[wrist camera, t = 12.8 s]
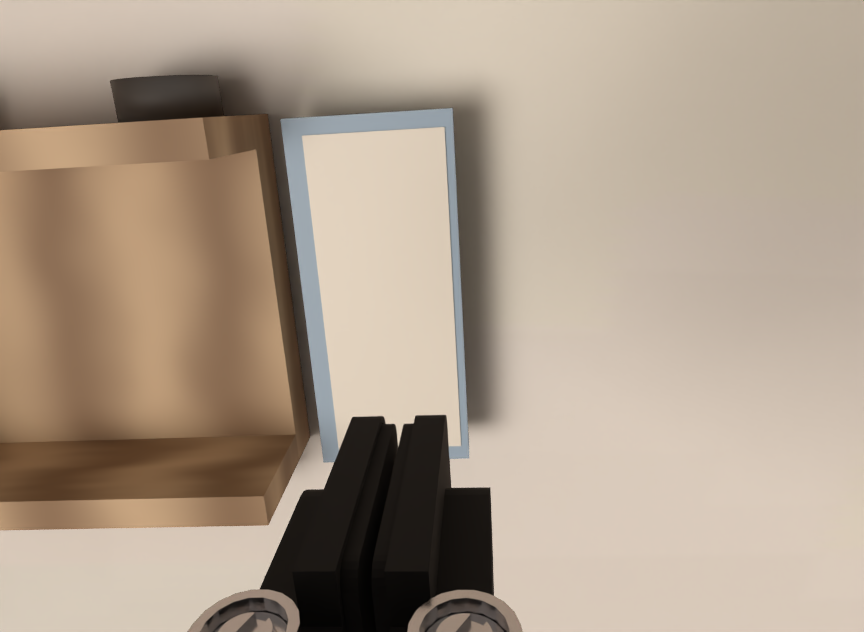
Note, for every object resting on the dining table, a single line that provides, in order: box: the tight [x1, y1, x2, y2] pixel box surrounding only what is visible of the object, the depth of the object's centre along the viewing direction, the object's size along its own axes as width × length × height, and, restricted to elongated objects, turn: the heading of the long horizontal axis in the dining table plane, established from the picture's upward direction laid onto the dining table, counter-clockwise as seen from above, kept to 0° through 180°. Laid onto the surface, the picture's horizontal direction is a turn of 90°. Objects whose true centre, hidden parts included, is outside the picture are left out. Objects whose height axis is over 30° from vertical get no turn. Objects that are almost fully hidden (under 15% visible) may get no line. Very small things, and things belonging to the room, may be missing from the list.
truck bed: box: [0, 75, 310, 530], centre depth 24 cm, size 16×17×8 cm
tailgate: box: [280, 108, 469, 462], centre depth 25 cm, size 1×14×6 cm
